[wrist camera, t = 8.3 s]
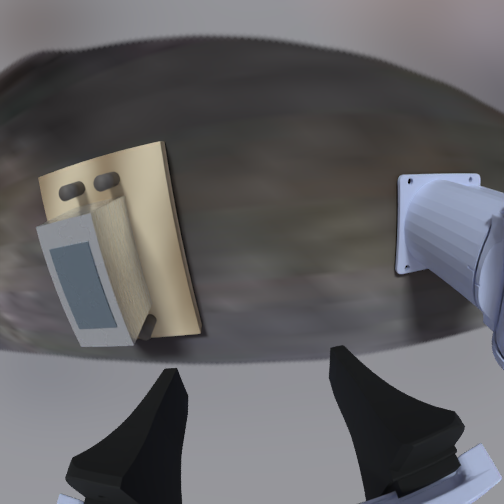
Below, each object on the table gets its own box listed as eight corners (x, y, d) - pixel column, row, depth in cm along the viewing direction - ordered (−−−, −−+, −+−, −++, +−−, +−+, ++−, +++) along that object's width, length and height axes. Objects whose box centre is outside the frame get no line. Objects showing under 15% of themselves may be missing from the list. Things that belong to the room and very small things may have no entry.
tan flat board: (164, 141, 17) (151, 140, 14) (202, 324, 22) (198, 350, 19) (46, 175, 17) (22, 181, 14) (95, 332, 22) (82, 354, 19)
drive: (124, 195, 17) (90, 213, 13) (152, 303, 20) (133, 346, 15) (76, 207, 17) (35, 227, 12) (106, 307, 20) (80, 347, 15)
